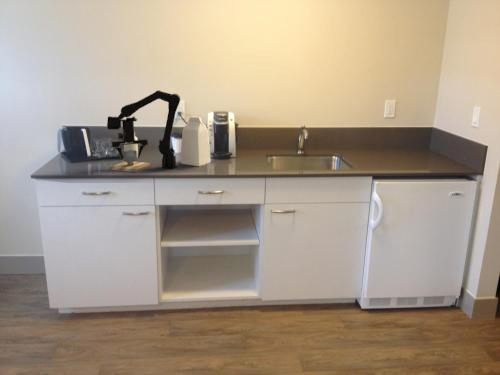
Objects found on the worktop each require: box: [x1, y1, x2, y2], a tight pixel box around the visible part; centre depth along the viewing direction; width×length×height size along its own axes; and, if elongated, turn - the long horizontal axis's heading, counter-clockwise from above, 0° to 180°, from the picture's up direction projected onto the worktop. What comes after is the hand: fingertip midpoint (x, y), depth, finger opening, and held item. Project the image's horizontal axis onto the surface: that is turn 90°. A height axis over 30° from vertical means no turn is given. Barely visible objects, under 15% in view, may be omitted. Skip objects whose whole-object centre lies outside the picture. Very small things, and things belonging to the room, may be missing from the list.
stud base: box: [109, 160, 152, 173], centre depth 243 cm, size 16×15×4 cm
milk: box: [181, 115, 211, 167], centre depth 253 cm, size 12×12×26 cm
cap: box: [122, 150, 138, 162], centre depth 242 cm, size 7×7×5 cm
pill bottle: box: [123, 131, 139, 158], centre depth 266 cm, size 8×8×15 cm
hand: (130, 158), depth 243 cm, fingers open, 9 cm apart
